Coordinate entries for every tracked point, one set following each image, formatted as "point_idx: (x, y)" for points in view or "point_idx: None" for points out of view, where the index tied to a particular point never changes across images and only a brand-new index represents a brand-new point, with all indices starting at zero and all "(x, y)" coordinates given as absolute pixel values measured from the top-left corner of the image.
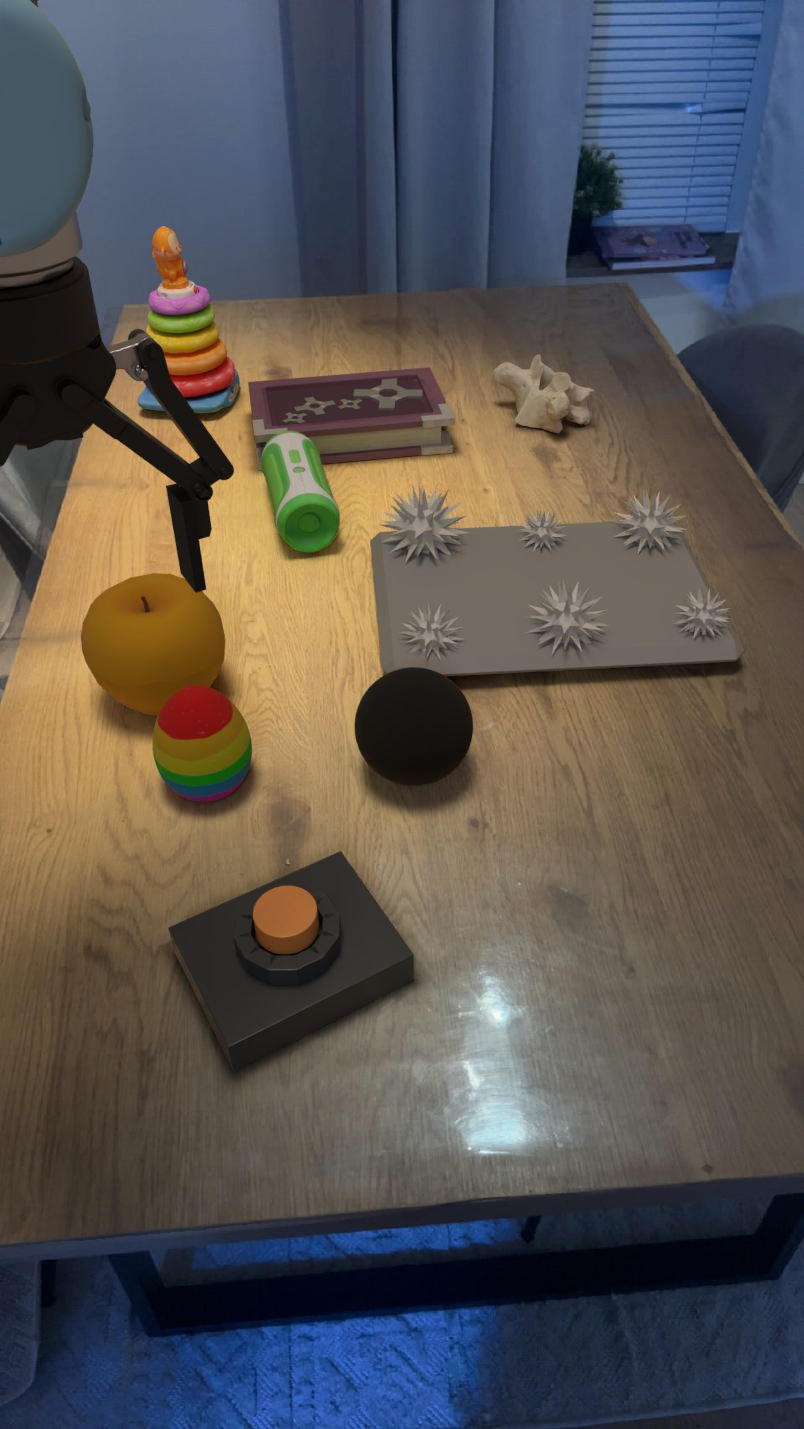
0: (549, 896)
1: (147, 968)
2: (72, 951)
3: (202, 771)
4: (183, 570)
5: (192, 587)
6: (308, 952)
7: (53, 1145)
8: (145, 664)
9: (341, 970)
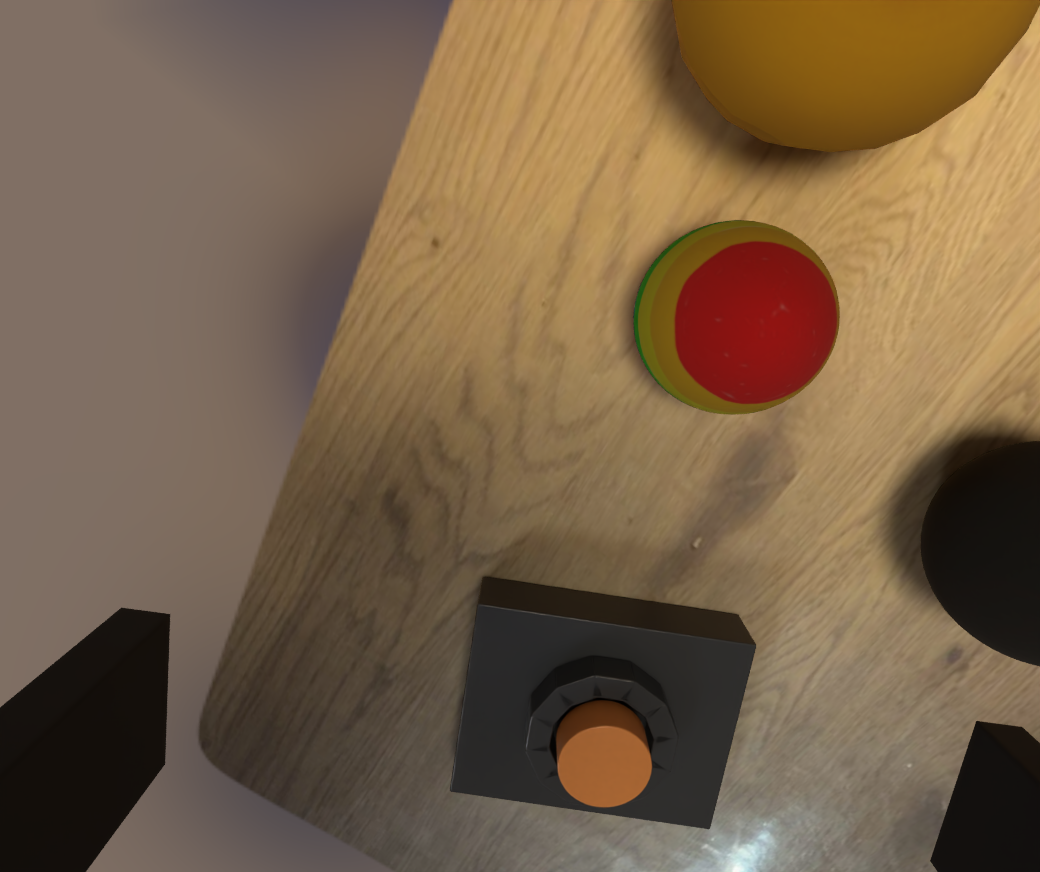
0: (920, 801)
1: (441, 572)
2: (370, 486)
3: (685, 402)
4: (989, 790)
5: (942, 841)
6: None
7: (253, 701)
8: (766, 104)
9: None
